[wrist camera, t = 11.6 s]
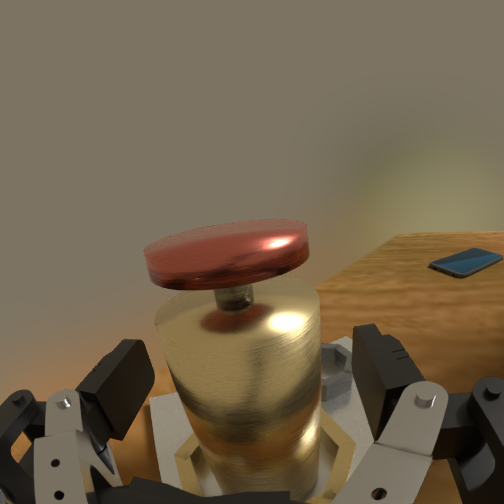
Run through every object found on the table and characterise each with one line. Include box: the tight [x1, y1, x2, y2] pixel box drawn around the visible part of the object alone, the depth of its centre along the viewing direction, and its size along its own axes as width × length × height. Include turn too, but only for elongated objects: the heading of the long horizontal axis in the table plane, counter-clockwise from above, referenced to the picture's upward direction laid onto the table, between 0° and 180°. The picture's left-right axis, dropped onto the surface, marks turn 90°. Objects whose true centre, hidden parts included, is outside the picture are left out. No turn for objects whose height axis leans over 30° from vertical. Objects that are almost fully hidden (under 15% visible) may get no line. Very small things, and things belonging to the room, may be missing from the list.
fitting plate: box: [149, 336, 436, 504], centre depth 14 cm, size 17×14×2 cm
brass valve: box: [144, 219, 321, 501], centre depth 10 cm, size 5×5×12 cm
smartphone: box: [430, 248, 503, 278], centre depth 36 cm, size 8×15×1 cm, turn 103°
